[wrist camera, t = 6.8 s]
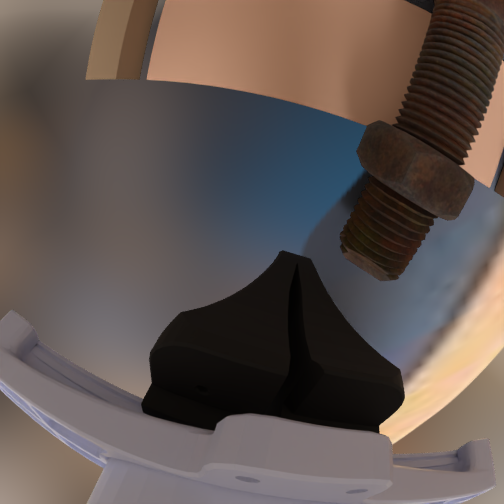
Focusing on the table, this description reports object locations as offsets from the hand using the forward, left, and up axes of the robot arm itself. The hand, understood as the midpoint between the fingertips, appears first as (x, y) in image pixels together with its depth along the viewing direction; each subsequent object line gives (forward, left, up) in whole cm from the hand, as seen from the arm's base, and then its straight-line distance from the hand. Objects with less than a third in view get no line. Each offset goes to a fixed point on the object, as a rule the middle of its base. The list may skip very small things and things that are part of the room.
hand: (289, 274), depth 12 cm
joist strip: (+10, 0, -3) cm, 10 cm away
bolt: (+9, -4, -3) cm, 10 cm away
